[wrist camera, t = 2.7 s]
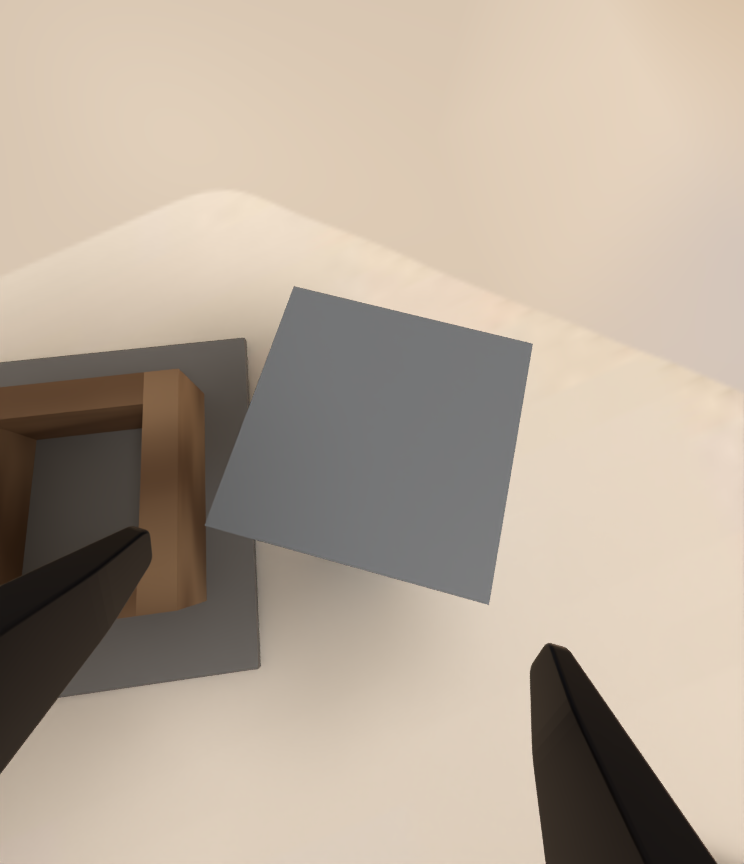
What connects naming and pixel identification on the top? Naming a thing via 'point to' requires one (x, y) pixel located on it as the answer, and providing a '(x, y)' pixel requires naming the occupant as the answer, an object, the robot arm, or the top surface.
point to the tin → (379, 444)
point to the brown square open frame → (160, 470)
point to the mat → (119, 508)
